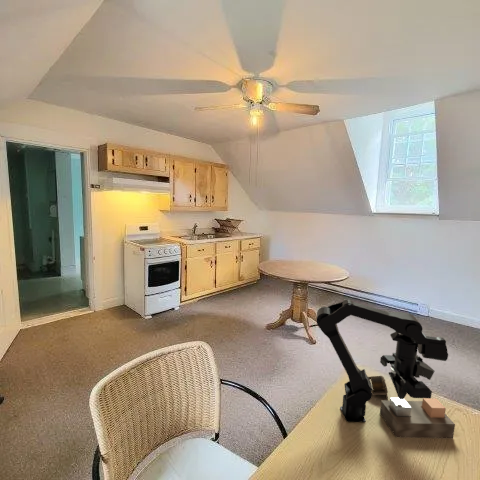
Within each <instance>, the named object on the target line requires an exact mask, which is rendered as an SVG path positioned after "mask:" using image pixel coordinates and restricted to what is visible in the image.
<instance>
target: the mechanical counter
mask: <svg viewBox="0 0 480 480" xmlns="http://www.w3.org/2000/svg"><path fill="white" fill-rule="evenodd" d="M368 377H369V378H370V382H371V386H372V389H373V391H372V396H383V395H384V396H385V398H386V399H389V396H388V392H389V391H388V387H387V383H386V379H385V377H384V376H383V375H372V376H368Z"/></svg>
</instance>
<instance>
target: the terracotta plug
mask: <svg viewBox="0 0 480 480" xmlns="http://www.w3.org/2000/svg"><path fill="white" fill-rule="evenodd" d="M422 401H423V402H422V409H423V410H424V411H425V412H426V413H427V414H428V415H429V417H430V418H444V417H445V414H446V410H447V409H446V406H444V405H443V403H441V402H440V401H439V400H438V399H437V398H434V397H433V398H432V397H431V398H422Z"/></svg>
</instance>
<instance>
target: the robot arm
mask: <svg viewBox="0 0 480 480" xmlns="http://www.w3.org/2000/svg"><path fill="white" fill-rule="evenodd" d="M350 316H353V317H355V318H359V319H362V320H365V321H369V322H372V323H376V324H380V325H382V326H386V327H388V328H390V329H392V330H393V331H395V332H392V333H390V337H391V340H392V341H394V342H396V347H395V352H392V354H391V355H390V354H383V355H382V356H381V357H380V358H379V359H380V360H379V363H380V364H381V365H382V366H383V367H387V366H388V364H390V372H388V375H389V377H390V380H391V381H392V385H393V387H394V389H395V391H396V392H395V393H396V395H397V398H399V399H400V400H403V399H405V397H406V396H407V395H408V396H409V397H410V398H412V399H423V398H432V393H433V391H432V390H431V389H430V388H429V386H427V385H426V383H424V381H422V380H418V379H419V378H420V377H422V378H426V379H427V380H429V381H430V380H432V377H433V375H434V374H435V370H434V369H433V368H432V367H431V366H430V365H428V364H427V363H426V362H424V361H423V358H424V359H429V360H436V361H441V362H442V361H443V362H447V360H448V358H449V353H448V348H447V341H446V339H445V338H444V337H441V336H436V337H435V336H429V335H428V336H427V335H425V333H424V332H423V326H422V324H421V323H420V321H419V320H418V319H417V317H416V316H414V315H413V314H411V313H408V312H401V311H395V312H394V311H393V312H391V311H386V310H383V309H380V308H376V307H373V306H369V305H366V304H363V303H359V302H356V301H353V300H351V299H345V300H343V301H341V302H338V303H333V304H330V305H329V306H322V307H319V309H318V310H317V312H316V325H317V326H318V328H319V330H321V332H322V334H324V336H326V337H327V338H328V339H329V341H330V343H331V345H332V347H333V349H334V351H335V352H336V353H335V354H336V355H337V356H338V359H339V361H340V363H341V365H342V366H343V368H344V370H345V372H346V375H347V377H348V381H347V382H346V383H344V393H345V394H343V396H342V405H340V407H339V409H340V411H341V413H342V414H343V417H344V419H345V421H346V422H348V423H349V422H351V423H352V422H353V423H366V422H367V419H366V418H365V417H366V409H367V408H366V407H367V405H366V403H368V402H369V401H370V400H371V399H372V397H373V395H372V393H373V388H372V383H371V379H370V378H369V377H370V376H368V375H367V373H366V370H365V369H364V368H363V369H360V368H359V367H358V365H357V364H356V362H355V360H354V358H353V356H352V354H351V352H350V350H349V348H348V346H347V345H346V342H345V340H344V338H343V336H342V335H341V333H340V331H339V327H338V324H339V323H341V322H343V321H344V320H345V319H346V318H348V317H350ZM417 354H420V355H421V356H422V357H421V356H420V355H417ZM417 378H418V379H417Z"/></svg>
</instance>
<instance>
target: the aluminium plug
mask: <svg viewBox="0 0 480 480" xmlns="http://www.w3.org/2000/svg"><path fill="white" fill-rule="evenodd" d="M389 400H390V404H389V408H390V409H391V410H392V412H393V413H394V415H395V416H396V417H410V415H411V406H410V405H409V404H408V403H407V402H406V401H407V400H406V399H405V398H404V399H403V400H400V399H399V398H398V397H390V398H389Z"/></svg>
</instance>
